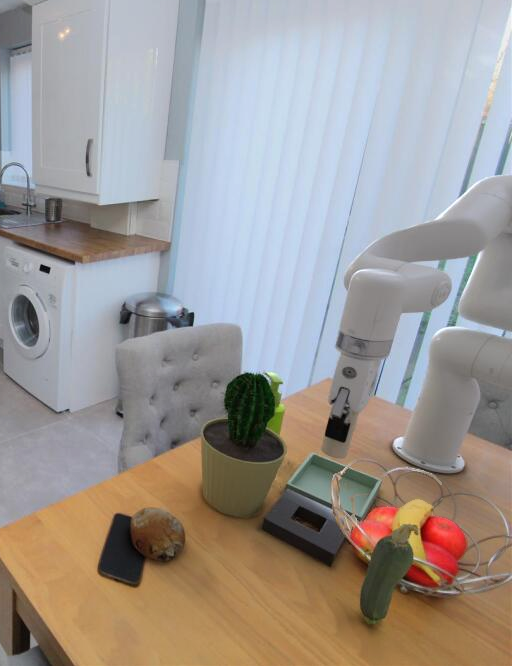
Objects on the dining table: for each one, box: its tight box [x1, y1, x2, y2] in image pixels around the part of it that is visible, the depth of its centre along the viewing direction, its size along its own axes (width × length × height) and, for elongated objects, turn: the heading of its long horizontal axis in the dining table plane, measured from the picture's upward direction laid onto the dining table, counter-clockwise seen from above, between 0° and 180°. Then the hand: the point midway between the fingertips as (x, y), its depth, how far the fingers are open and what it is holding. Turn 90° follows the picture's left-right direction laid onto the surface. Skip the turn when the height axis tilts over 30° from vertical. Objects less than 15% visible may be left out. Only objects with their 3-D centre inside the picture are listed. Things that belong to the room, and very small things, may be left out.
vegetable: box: [359, 523, 421, 626], centre depth 72 cm, size 4×4×20 cm
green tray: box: [283, 451, 383, 522], centre depth 100 cm, size 15×13×3 cm
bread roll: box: [129, 506, 186, 562], centre depth 90 cm, size 10×10×8 cm
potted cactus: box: [200, 369, 288, 518], centre depth 95 cm, size 15×15×30 cm
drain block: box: [260, 489, 348, 568], centre depth 91 cm, size 12×12×3 cm
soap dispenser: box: [263, 371, 286, 436], centre depth 111 cm, size 6×7×20 cm
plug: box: [320, 404, 360, 460], centre depth 88 cm, size 4×4×10 cm
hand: (339, 432), depth 88 cm, fingers closed on plug, 4 cm apart
